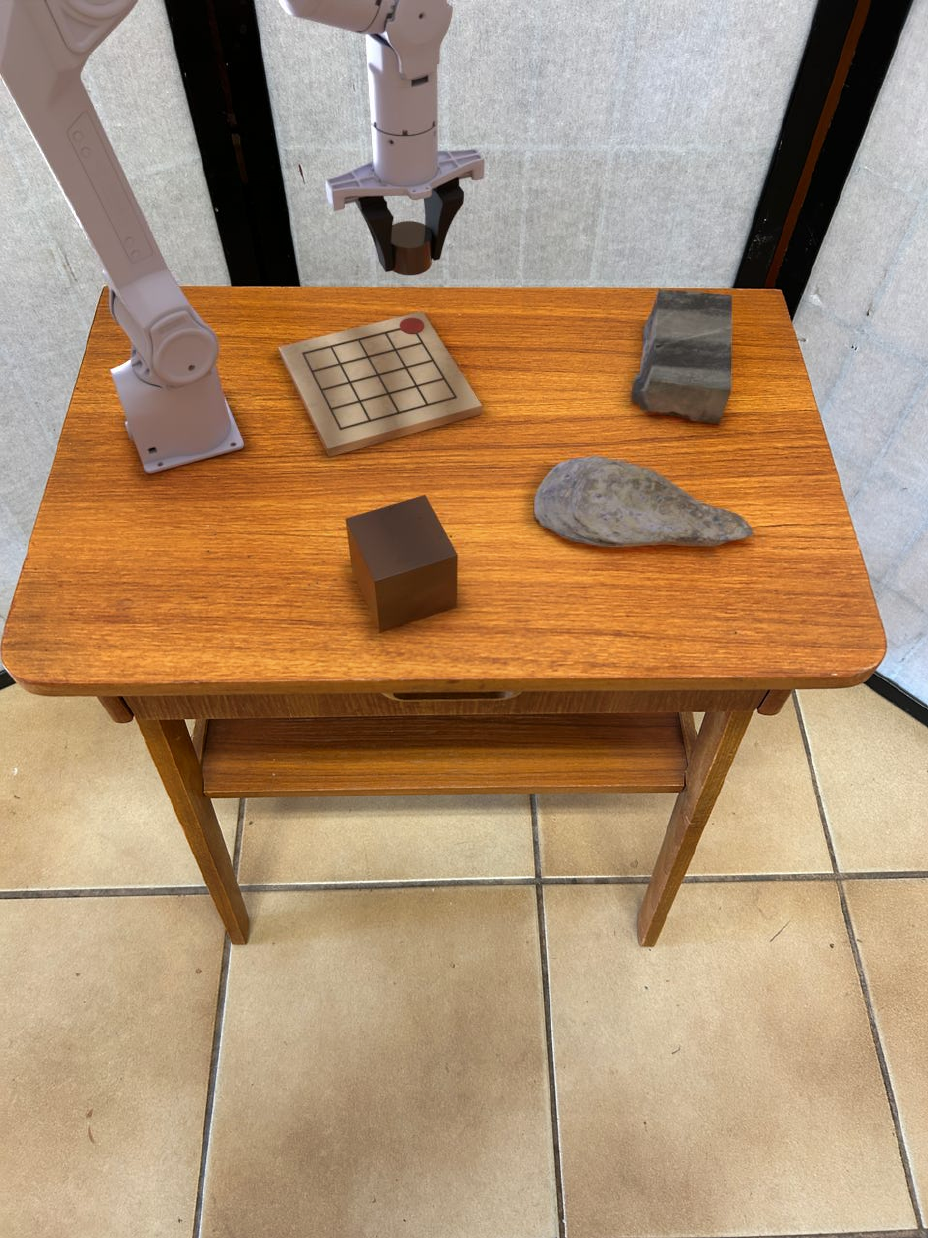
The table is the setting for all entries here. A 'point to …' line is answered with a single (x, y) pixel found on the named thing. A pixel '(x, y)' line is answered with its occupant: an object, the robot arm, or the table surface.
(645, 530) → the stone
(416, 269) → the black cylinder
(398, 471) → the table surface
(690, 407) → the stone block
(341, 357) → the grid board
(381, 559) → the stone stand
